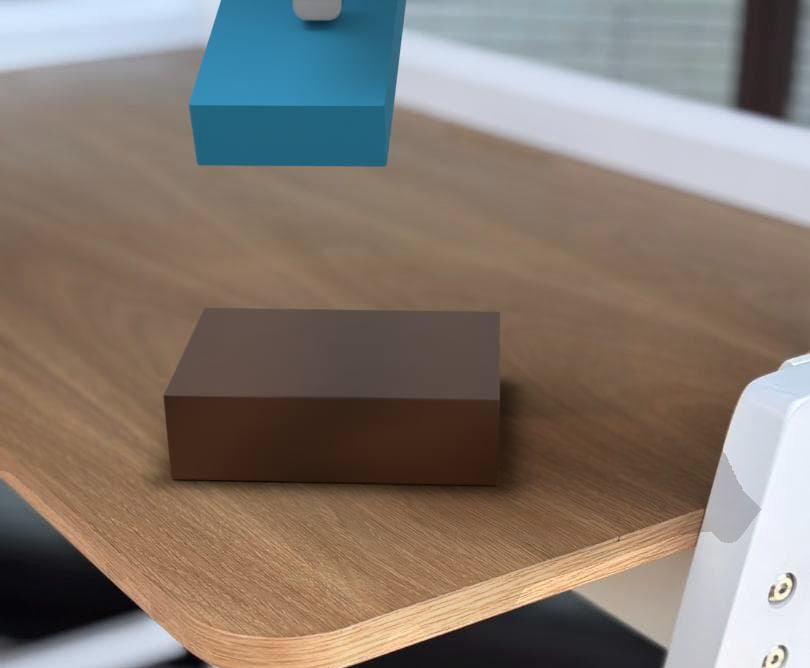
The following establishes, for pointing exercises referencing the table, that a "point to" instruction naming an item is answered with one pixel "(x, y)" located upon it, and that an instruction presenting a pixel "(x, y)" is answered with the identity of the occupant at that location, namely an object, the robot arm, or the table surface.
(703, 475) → the table surface
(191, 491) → the table surface
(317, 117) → the blue rectangular block
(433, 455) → the walnut block
